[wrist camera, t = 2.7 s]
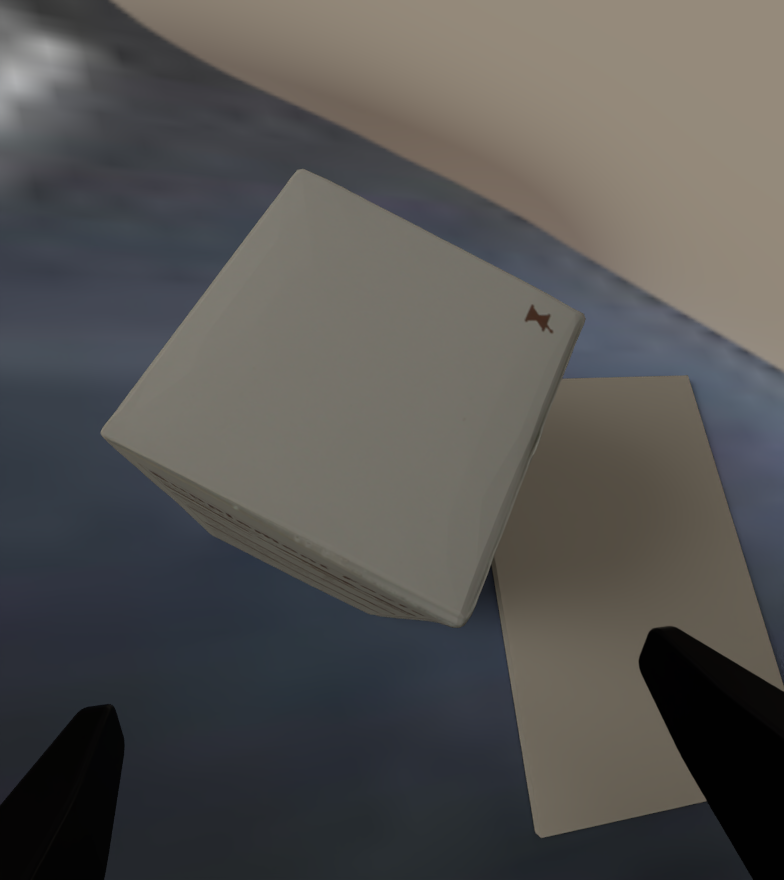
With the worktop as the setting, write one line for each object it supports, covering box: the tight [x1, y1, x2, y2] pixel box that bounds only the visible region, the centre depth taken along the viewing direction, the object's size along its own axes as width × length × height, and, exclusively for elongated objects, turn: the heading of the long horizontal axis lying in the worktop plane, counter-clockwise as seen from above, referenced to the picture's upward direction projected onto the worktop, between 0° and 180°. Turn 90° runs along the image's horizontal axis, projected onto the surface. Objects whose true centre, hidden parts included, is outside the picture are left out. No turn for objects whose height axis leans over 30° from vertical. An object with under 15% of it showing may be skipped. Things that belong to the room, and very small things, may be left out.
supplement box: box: [101, 169, 585, 628], centre depth 16 cm, size 7×7×13 cm
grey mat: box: [491, 376, 784, 838], centre depth 23 cm, size 18×12×1 cm, turn 6°
